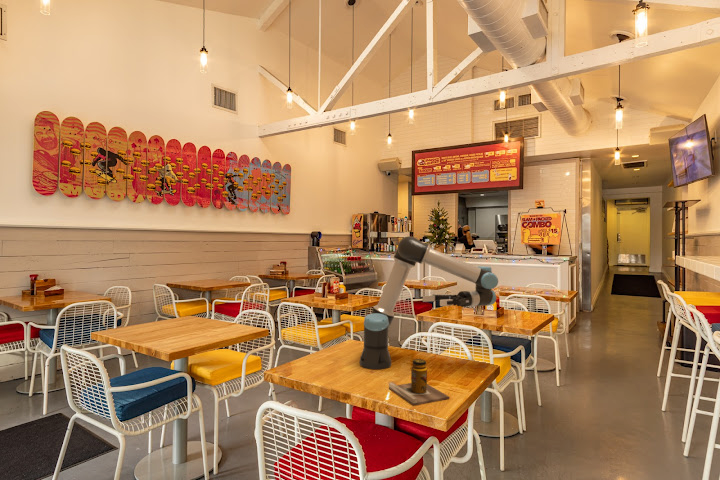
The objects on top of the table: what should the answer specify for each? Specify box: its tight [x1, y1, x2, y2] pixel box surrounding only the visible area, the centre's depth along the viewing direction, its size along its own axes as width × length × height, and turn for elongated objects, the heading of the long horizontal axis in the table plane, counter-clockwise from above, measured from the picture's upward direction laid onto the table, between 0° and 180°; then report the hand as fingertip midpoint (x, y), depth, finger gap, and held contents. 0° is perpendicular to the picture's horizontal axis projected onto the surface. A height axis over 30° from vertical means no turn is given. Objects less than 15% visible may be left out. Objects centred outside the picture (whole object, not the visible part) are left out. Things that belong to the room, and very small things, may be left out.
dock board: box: [388, 381, 450, 406], centre depth 154 cm, size 16×18×2 cm
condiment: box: [404, 358, 430, 395], centre depth 154 cm, size 7×8×12 cm
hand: (431, 300), depth 183 cm, fingers open, 13 cm apart
